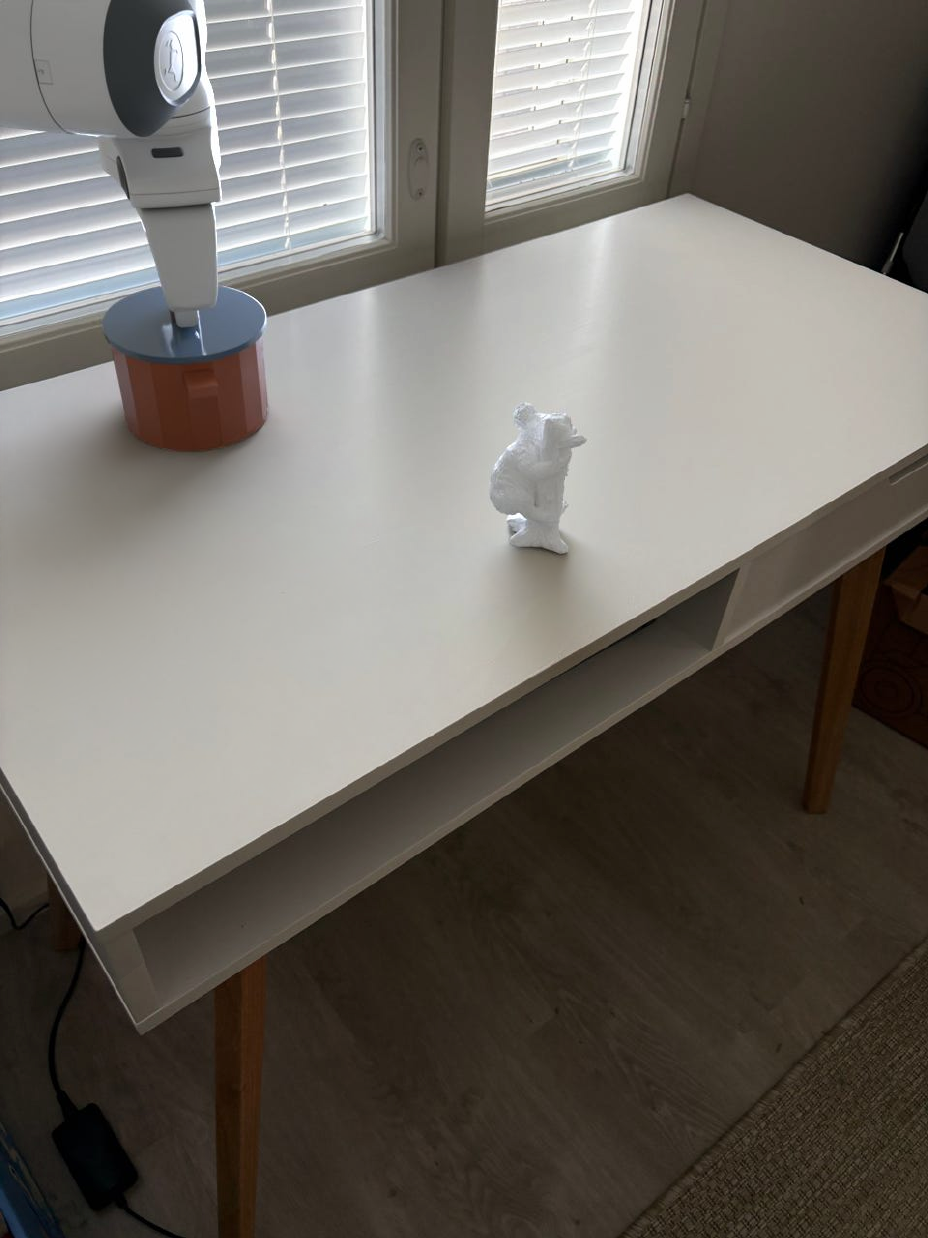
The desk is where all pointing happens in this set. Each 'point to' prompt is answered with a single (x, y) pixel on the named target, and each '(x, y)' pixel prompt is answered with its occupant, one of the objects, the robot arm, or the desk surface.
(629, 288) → the desk surface
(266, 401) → the pot
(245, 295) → the lid
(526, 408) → the koala figurine
